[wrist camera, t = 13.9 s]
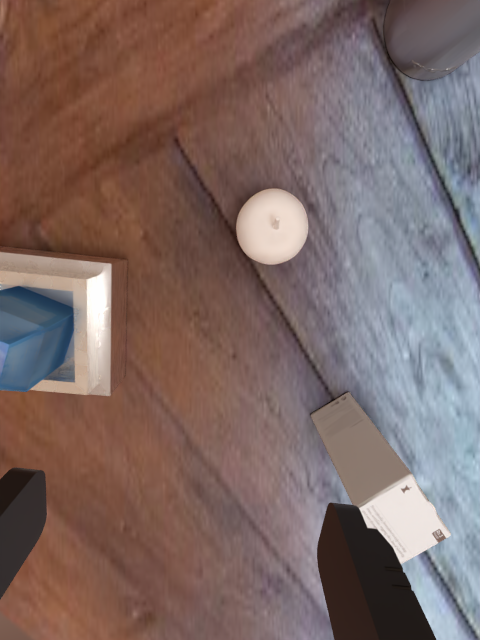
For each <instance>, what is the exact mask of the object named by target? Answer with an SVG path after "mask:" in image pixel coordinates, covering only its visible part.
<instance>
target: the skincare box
mask: <svg viewBox="0 0 480 640" xmlns="http://www.w3.org/2000/svg"><path fill="white" fill-rule="evenodd" d="M311 418H312V420H313V422H314V424H315V426H316V428H317V430H318V433H319V435H320V437H321V439H322V441H323V443H324V445H325V447H326V450H327V452H328V454H329V456H330V458H331V460H332V462H333V464H334V466H335V468H336V470H337V472H338V475H339V477H340V479H341V481H342V483H343V485H344V487H345V489H346V491H347V493H348V496H349V498H350V500H351V502H352V504H353V505H356V506H357V507H358V508H359V509H360V511H361V513H362V516H363V518H364V521H365V523H366V525H367V528H374V529H378V531H379V532H380V533H381V534H382V535H383V536H384V538H385V539H386V540H387V541H388V542H389V543H390V545H391V546H392V547H393V549H394V551H395V553H396V555H397V557H398V559H399V562H400V564H402V563H404V562H406V561H407V560H409V559H411V558H413V557H415V556H416V555H418V554H420V553H421V552H423V551H425V550H427V549H428V548H430V547H432V546H434V545H436V544H437V543H439V542H441V541H442V540H444V539H446V538H448V537H449V536H450V535H451V533H450V532H449V530H448V529H447V527H446V526H445V524H444V523H443V521H442V520H441V518H440V517H439V515H438V514H437V512H436V509H435V507H434V506H433V504H432V503H430V502H429V500H428V499H427V497H426V496H425V494H424V493H423V491H422V490H421V488H420V487H419V485H418V484H417V482H416V480H415V478H414V476H413V475H412V473H411V472H410V471H409V469H408V468H407V467H406V465H405V464H404V463H403V461H402V460H401V459H400V458H399V456H398V455H397V454H396V452H395V451H394V450H393V448H392V447H391V446H390V445H389V443H388V442H387V441H386V439H385V438H384V437H383V435H382V434H381V433H380V432H379V430H378V429H377V428H376V426H375V425H374V424H373V422H372V421H371V420H370V418H369V417H368V416H367V415H366V413H365V412H364V411H363V409H362V408H361V407H360V406H359V404H358V403H357V402H356V400H355V399H354V398H353V397H352V395H351V394H350V393H349V392H347V393H345V394H344V395H342V396H340V397H339V398H338V399H336V400H334V401H332V402H331V403H329V404H327V405H325V406H324V407H322V408H320V409H319V410H317V411H315V412H314V413H312V414H311Z"/></svg>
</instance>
